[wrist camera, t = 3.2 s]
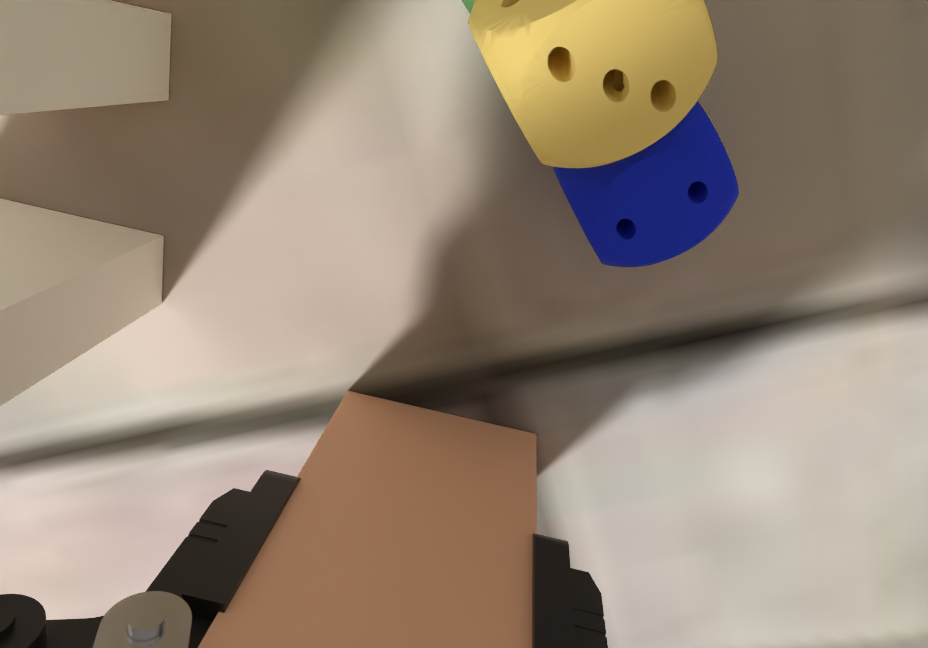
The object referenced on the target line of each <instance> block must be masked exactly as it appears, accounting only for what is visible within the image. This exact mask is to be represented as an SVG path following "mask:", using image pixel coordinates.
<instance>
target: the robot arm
mask: <svg viewBox="0 0 928 648" xmlns="http://www.w3.org/2000/svg"><path fill="white" fill-rule="evenodd" d="M300 480H301V478H299V477H294V476H290V475H286V474H282V473H277V472H273V471H269V470H266V471H265V472H264V473H263V474H262V475H261V477H260V478H259V480H258V481H257V483H256V484H255V486H254V487H253V489H252V490H251V492H248V491H243V490H239V489H235V488H234V489H232V490H230V491H229V492H227V493H225V494H224V495H222V496H221V497H219V498H217V499H216V500H214V501H213V502H212V503H211V504H210V506H209V507H208V508H207V510H206V511H205V512H204V514H203V515H202V517H201V518H200V520H199V523H198V522H197V523H196V525H195V526H194V527H193V529H192V530H191V531H190V533H189V536H188V537H186V538H185V539H184V541H183V542H182V543H181V545H180V546H179V547H178V549H177V550H176V551H175V553H174V554H173V556H172V557H171V558H170V560H169V561H168V562H167V564H166V565H165V566H164V568H163V569H162V570H161V572H160V573H159V574H158V576H157V577H156V578H155V580H154V581H153V582H152V584H151V585H150V586H149V588H148V589H147V590H146V592H142V593H138V594H135V595H132V596H129V597H127V598H125V599H123V600H121V601H120V602H118V603H117V604H115V605H114V606H113V607H112V608H110V610H109V611H108V612H107V613H106V614H105V615H104V616H101V617H96V618H87V619H64V620H46V615H45V610H44V608H43V606H42V605H41V604H40V603H39V602H38V601H36V600H35V599H33V598H31V597H28V596H25V595H19V594H3V595H0V648H198V646H199V645H200V643H201V641H202V639H203V638H204V636H205V634H206V633H207V631H208V629H209V627H210V626H211V624H212V622H213V621H214V619H215V617H216V615H217V614H218V612H222V613H225V611H226V609H227V607H228V606H229V604H230V602H231V600H232V599H233V597H234V595H235V593H236V592H237V590H238V588H239V586H240V585H241V583H242V581H243V579H244V578H245V576H246V574H247V572H248V571H249V569H250V567H251V565H252V564H253V562H254V560H255V558H256V557H257V555H258V553H259V551H260V550H261V548H262V546H263V544H264V543H265V541H266V539H267V537H268V536H269V534H270V532H271V530H272V529H273V527H274V525H275V523H276V522H277V520H278V518H279V516H280V515H281V513H282V511H283V509H284V508H285V506H286V504H287V502H288V501H289V499H290V497H291V495H292V494H293V492H294V490H295V488H296V487H297V485H298V483H299V481H300ZM603 616H604V613H603V605H602V597H601V593H600V591H599V589H598V587H597V586H596V584H595V582H594V581H593V579H592V577H591V575H590V574H589V572H585V571H580V570H576V569H572V568H570V557H569V544H568V542H567V541H564V540H560V539H556V538H552V537H547V536H543V535H539V534H535V533H533V572H532V648H608V645H607V637H605V635H606V629H605V621H604V619H603Z"/></svg>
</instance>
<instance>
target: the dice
mask: <svg viewBox="0 0 928 648" xmlns="http://www.w3.org/2000/svg"><path fill="white" fill-rule="evenodd" d="M462 2H463V3H464V5H465V6H466V8H467V10H468V11H469V13H470V17H469V20H468V24H469V27H470V29H471V32H472V34H473V36H474V39H475V41H476V43H477V45H478V47H479V50H480V52H481V54H482V56H483V58H484V60H485V62H486V64H487V66H488V68H489V70H490V72H491V74H492V76H493V78H494V80H495V82H496V84H497V86H498V88H499V90H500V92H501V94H502V95H503V97H504V99H505V101H506V103H507V105H508V107H509V109H510V111H511V112H512V114H513V116H514V118H515V120H516V122H517V123H518V125H519V127H520V129H521V131H522V132H523V134H524V136H525V138H526V139H527V141H528V143H529V144H530V146H531V148H532V149H533V151H534V153H535V154H536V156H537V157H538V159H539V160H540V162H541V163H542V164H545V165H549V166H553V168H554V171H555V173H556V176H557V178H558V180H559V182H560V185H561V187H562V189H563V191H564V193H565V195H566V197H567V199H568V201H569V203H570V205H571V207H572V209H573V211H574V213H575V215H576V217H577V219H578V221H579V223H580V225H581V227H582V229H583V231H584V233H585V235H586V236H587V238H588V240H589V242H590V244H591V246H592V247H593V249H594V251H595V253H596V254H597V256H598V258H599V259H600V261H601V263H602V264H605V265H610V266H618V267H638V266H646V265H651V264H655V263H659V262H662V261H665V260H668V259H670V258H673V257H675V256H677V255H679V254H681V253H683V252H685V251H687V250H689V249H691V248H692V247H694V246H695V245H697V244H698V243H700V242H701V241H702V240H704V239H705V238H706V237H707V236H708V235H710V234H711V233H712V232H713V231H714V230H715V229H716V228H717V227H718V225H719V224H720V223H721V222H722V221H723V220H724V218H725V217H726V216H727V214H728V213H729V211H730V210H731V208H732V206H733V205H734V203H735V201H736V199H737V197H738V193H739V191H738V184H737V180H736V177H735V173H734V170H733V168H732V165H731V162H730V160H729V157H728V155H727V153H726V150H725V148H724V146H723V144H722V142H721V140H720V138H719V136H718V134H717V132H716V130H715V128H714V126H713V125H712V123H711V121H710V119H709V118H708V116H707V114H706V113H705V111H704V110H703V108H702V107H701V105H700V104H699V103H698V101H697V100H698V99H699V98H700V96H701V95H702V93H703V92H704V90H705V88H706V86H707V84H708V83H709V81H710V79H711V76H712V74H713V72H714V70H715V67H716V64H717V47H716V41H715V36H714V31H713V27H712V24H711V20H710V17H709V14H708V11H707V8H706V5H705V2H704V0H462Z"/></svg>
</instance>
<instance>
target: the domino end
mask: <svg viewBox="0 0 928 648" xmlns="http://www.w3.org/2000/svg"><path fill="white" fill-rule="evenodd" d="M298 477H299V478H301V480H300V481H299V483H298V485H297V487H296V488H295V490H294V492H293V494H292V495H291V497H290V499H289V501H288V502H287V504H286V506H285V508H284V509H283V511H282V513H281V515H280V516H279V518H278V520H277V522H276V523H275V525H274V527H273V529H272V530H271V532H270V534H269V536H268V537H267V539H266V541H265V543H264V544H263V546H262V548H261V550H260V551H259V553H258V555H257V557H256V558H255V560H254V562H253V564H252V565H251V567H250V569H249V571H248V572H247V574H246V576H245V578H244V579H243V581H242V583H241V585H240V586H239V588H238V590H237V592H236V593H235V595H234V597H233V599H232V600H231V602H230V604H229V606H228V607H227V609H226V611H225V613H222V612H218V614H217V615H216V617H215V619H214V621H213V622H212V624H211V626H210V627H209V629H208V631H207V633H206V634H205V636H204V638H203V639H202V641H201V643H200V645H199V646H198V648H532V572H533V533H535V534H537V471H536V434H534V433H530V432H525V431H521V430H517V429H512V428H508V427H504V426H499V425H495V424H491V423H486V422H482V421H478V420H473V419H469V418H465V417H460V416H456V415H452V414H447V413H443V412H438V411H434V410H430V409H425V408H421V407H417V406H412V405H408V404H404V403H399V402H395V401H391V400H386V399H382V398H378V397H373V396H369V395H365V394H360V393H356V392H352V391H347V393H346V394H345V396H344V398H343V400H342V401H341V403H340V405H339V406H338V408H337V410H336V412H335V413H334V415H333V417H332V418H331V420H330V422H329V424H328V425H327V427H326V429H325V430H324V432H323V434H322V436H321V437H320V439H319V441H318V442H317V444H316V446H315V448H314V449H313V451H312V453H311V454H310V456H309V458H308V460H307V461H306V463H305V465H304V466H303V468H302V470H301V472H300V473H299V475H298Z"/></svg>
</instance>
